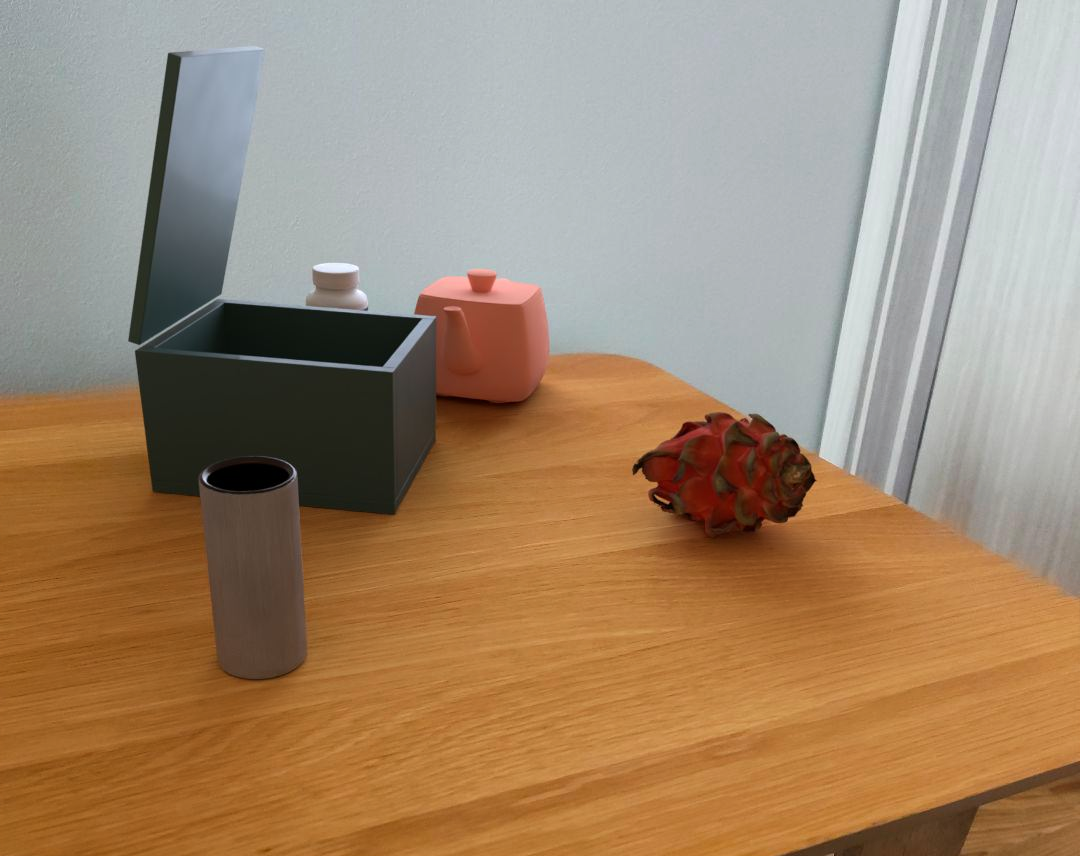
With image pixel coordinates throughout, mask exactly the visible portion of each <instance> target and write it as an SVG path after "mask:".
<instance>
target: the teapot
mask: <svg viewBox="0 0 1080 856" xmlns="http://www.w3.org/2000/svg"><path fill="white" fill-rule="evenodd" d="M466 275H467V276H457V275H456V276H454V275H450V276H449V275H448V276H443V277H441V278H439V279H437V280H435V281H434V282H433V283H431V284H430V285H428V286H427V287H425V288H424V289H423V290H422V291H421V292H420V293H418V297H417V301H416V305H415V307H414V308H415V310H414V312H413V314H414V315H427V316H436V396H439V397H456V398H457V397H458V398H466V399H473V400H485V401H487V402H489V403H493V404H504V403H508V402H522V401H524V400H526V399H527V398H528V397H530V396H531V394H533V392H534V391H535V390H536V389H537V388H538V386H539V385H540V383H541V381H542V380H543V378H544V375H545V373H546V371H547V368H548V365H549V361H550V331H549V322H548V316H547V310H546V304H545V299H544V295H543V290H542V288H541V286H540V285H537V284H533V283H525V282H518V281H511V280H510V279H508V278H504V277H500V278H497V276H498V273H497V272H496V271H495V270H492V269H488V268H472V269H469V270H468V271H466Z"/></svg>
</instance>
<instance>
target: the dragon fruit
mask: <svg viewBox="0 0 1080 856" xmlns="http://www.w3.org/2000/svg"><path fill="white" fill-rule="evenodd" d="M748 417H749V418H751V420H750V421H749V420H748V418H746V417H743V418H741V419H739V420H738V419H736V418H734V416H733V415H731V414H730V413H728V412H722V411H721V412H720V411H719V412H709V413H707V414H705V415H704V420H705V421H704V420H701V421H699V420H696V421H685V422H684V423H682V425H681V428H680V429H679V430H678V431H677V433H676V434H675V435H674V436H672V437H670V438H669V439H667V440H664V441H662V442H660V443H659V444H658V445H657V446H656V447H655V448H654V449H651V450H649V451H647V452H646V453H644V454H643V455H642V456H641V457H640V458H639V459H637V461H636V463H633V466H632V476H634V475H636V474H637V473H638V472H639V470H640V469H641V472H642V475H644V476H645V477H644V479H645V480H647V482H650V483H657V487H653V488H649V490H648V492H647V493H648V494H647V495H648V499H649V501H650V502H652V503H653V505H655V506H656V507H658V508H660V510H661V511H662V512H665V513H668V514H674V516H677V515H679V514H683V515H684V516H685V517H686V518H687V519H689V520H692V521H697V522H699V521H705V523H704V532H705V534H706V535H707V536H709V537H711V538H712V537H715V536H718V535H721V534H725V533H729V532H730V531H731V530H732V528H733V527H736V528H737V529H738V531H739V532H740V533H741V534H751V533H752V534H753V533H755V532H756V531H759V530H760V529H761V527H762V525H763V521H765V520H766V521H769V522H772V523H773V524H784V523H788V520H789V519H790V518H795V517H796V516H797V514H798V513H799V512H800V511H801V510H802V508H803V507H804V504H803V502H804V499H805V497H806V495H807V493H808V492H809V491H810V490H811V489H812V487H813V486H814V484H815V483H816V482H817V481H818V480H817V479H816V477H815V474H814V472H813V470H812V464H811V462H810V460H809V459H808V458H807V457H806V455H805V454H804V453H801V448H800V445H799V444H798V442H797V441H796V440H795V439H794V438H793V437H790V436H788V435H786V434H785V433H783V434H780V433H779V431H777V430H776V427H775V426H774V425H773V424H772V423H771V422H769V421H768V420H767V419H765V418H764V417H763V416H762V415H760V414H758V413H748ZM634 477H635V478H636V476H634ZM636 479H637V478H636ZM657 497H658V498H660V499H663V500H665V501H667V502H669V503H666V502H664V501H662V500H660V499H658V498H657Z"/></svg>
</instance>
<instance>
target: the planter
mask: <svg viewBox="0 0 1080 856" xmlns="http://www.w3.org/2000/svg"><path fill="white" fill-rule="evenodd" d="M199 489H200V496H199V498H200V508H201V518H202V527H203V536H204V547H205V554H206V555H205V556H206V566H207V574H208V585H209V596H210V603H211V604H210V605H211V613H212V623H213V633H214V642H215V651H216V657H217V658H216V659H217V662H218V665H219V666H220V668H221V669H222V670H223V671H225V672H226V673H227V674H229V675H230V676H234V677H237V678H241V679H247V680H264V679H272V678H275V677H279V676H283V675H286V674H288V673H290V672H292V671H294V670H295V669H297V668H298V667H299V666H301V665H302V663H303V662H304V661H305V660H306V657H307V654H308V642H307V641H308V638H307V636H308V635H307V621H306V605H305V604H306V603H305V587H304V585H305V584H304V583H305V582H304V569H303V568H304V567H303V552H302V534H301V533H302V532H301V517H300V506H299V497H298V480H297V472H296V470H295V468H294V467H293V466H292V465H290V464H289V463H287V462H285V461H283V460H279V459H276V458H271V457H262V456H244V457H235V458H230V459H225V460H222V461H219V462H216V463H214V464H211V465H210V466H208V467H206V468H205V469H204V470H203V471H202V472H201V473H200V475H199Z"/></svg>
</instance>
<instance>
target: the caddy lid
mask: <svg viewBox="0 0 1080 856" xmlns="http://www.w3.org/2000/svg"><path fill="white" fill-rule="evenodd" d="M265 52H266V50H265V48H263V47H260V46H256V45H249V46H247V45H246V46H237V47H224V48H211V49H198V50H197V49H196V50H183V51H173V52H172V51H171V52H168V53H167V58H166V64H165V73H164V79H163V86H162V87H163V88H162V93H161V101H160V108H159V115H158V121H157V130H156V138H155V144H154V150H153V151H154V152H153V159H152V166H151V171H150V172H151V173H150V178H149V179H150V181H149V187H148V195H147V200H146V201H147V202H146V209H145V217H144V224H143V231H142V238H141V246H140V252H139V260H138V267H137V274H136V281H135V288H134V295H133V303H132V309H131V317H130V324H129V331H128V338H127V341H128V342H129V343H130V344H131V343H132V344H135V345H137V346H142V345H143V344H144V343H146V342H147V341H149V340H150V339H152V338H153V337H155V336H157V335H159V334H161V333H162V332H163V331H164V330H167V329H169V328H170V327H171V326H173V325H174V324H177V323H179V321H181V320H182V319H185V318H187V316H190V314H192V313H195V312H196V310H197V311H198V309H200V308H203V306H206V304H209V303H211V302H212V301H214V299H217V298H219V296H221V295H222V294H223V287H224V284H225V283H224V282H225V277H226V271H227V265H228V261H229V260H228V259H229V255H230V249H231V243H232V238H233V232H234V226H235V221H236V215H237V209H238V205H239V204H238V203H239V197H240V192H241V186H242V181H243V177H244V175H243V174H244V171H245V164H246V158H247V153H248V147H249V141H250V137H251V130H252V125H253V121H254V120H253V119H254V113H255V109H256V103H257V97H258V91H259V85H260V81H261V74H262V69H263V63H264V57H265Z"/></svg>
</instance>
